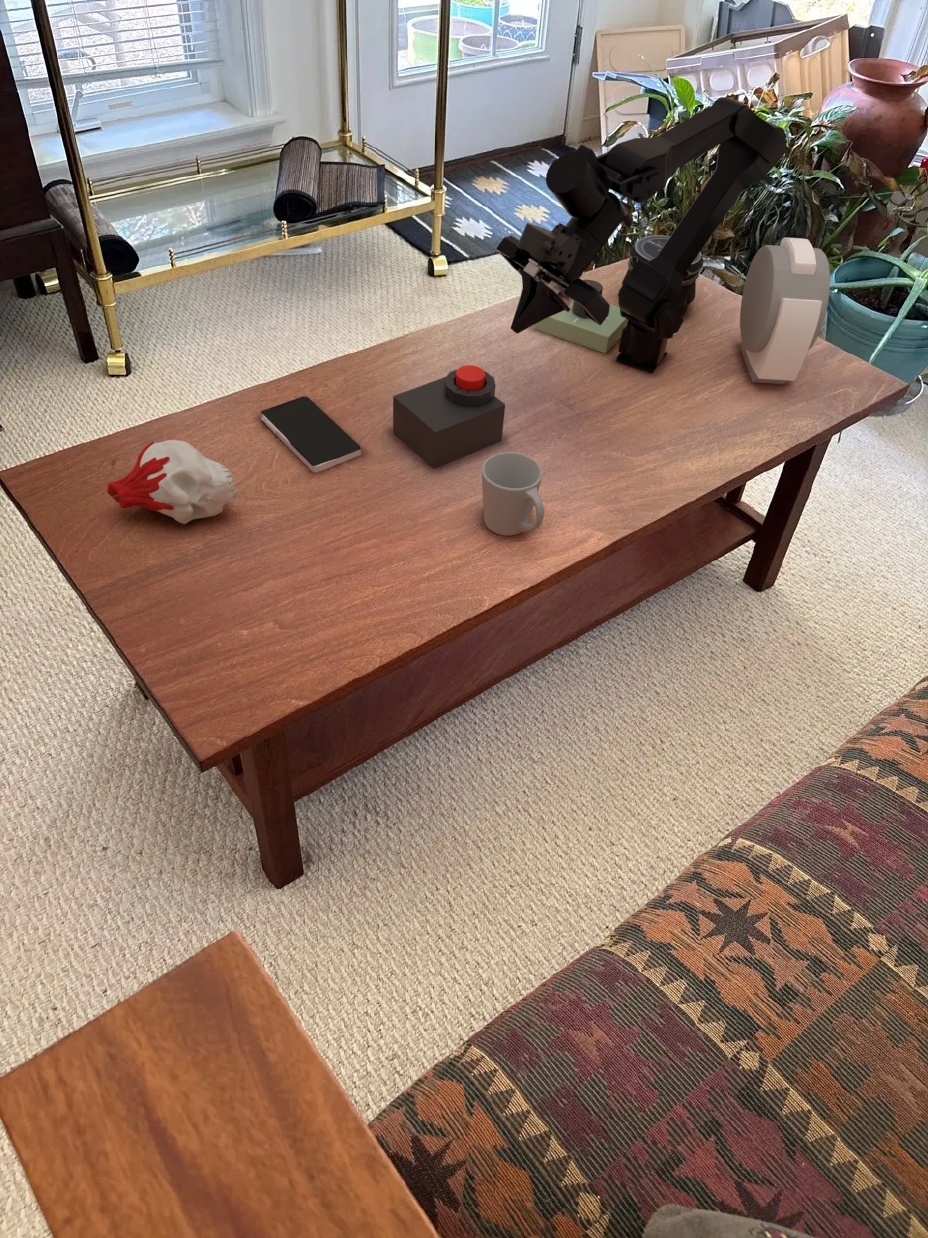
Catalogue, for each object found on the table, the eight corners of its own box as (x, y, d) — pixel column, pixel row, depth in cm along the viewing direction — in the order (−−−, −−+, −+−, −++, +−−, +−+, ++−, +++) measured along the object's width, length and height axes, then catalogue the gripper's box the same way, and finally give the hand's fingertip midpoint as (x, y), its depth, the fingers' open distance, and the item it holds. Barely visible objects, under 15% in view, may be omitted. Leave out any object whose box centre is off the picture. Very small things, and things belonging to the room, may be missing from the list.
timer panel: (629, 327, 160) (633, 310, 157) (605, 353, 154) (608, 336, 151) (561, 304, 164) (563, 287, 161) (534, 328, 158) (536, 311, 155)
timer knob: (602, 310, 157) (607, 282, 154) (591, 321, 154) (596, 293, 151) (579, 302, 158) (583, 274, 155) (567, 313, 156) (571, 285, 152)
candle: (246, 517, 121) (129, 555, 117) (225, 464, 127) (114, 499, 124) (229, 462, 114) (104, 501, 110) (207, 410, 120) (89, 445, 117)
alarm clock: (799, 398, 148) (844, 275, 133) (745, 394, 148) (785, 271, 133) (776, 337, 160) (815, 219, 145) (726, 334, 160) (760, 215, 145)
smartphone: (312, 467, 127) (257, 411, 135) (313, 474, 128) (258, 418, 136) (363, 447, 131) (306, 394, 139) (363, 454, 132) (307, 401, 140)
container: (698, 296, 168) (712, 241, 161) (683, 330, 160) (697, 274, 153) (629, 280, 171) (639, 225, 164) (610, 312, 163) (620, 256, 155)
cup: (510, 496, 127) (516, 444, 121) (558, 538, 122) (568, 486, 116) (465, 516, 124) (469, 464, 118) (513, 560, 119) (520, 508, 113)
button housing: (464, 404, 141) (468, 357, 136) (506, 438, 136) (512, 391, 130) (392, 432, 136) (393, 384, 130) (433, 469, 130) (435, 420, 125)
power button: (472, 372, 134) (473, 361, 132) (490, 386, 132) (491, 375, 130) (449, 381, 132) (450, 370, 131) (467, 395, 130) (467, 384, 128)
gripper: (513, 174, 126) (442, 273, 129) (608, 229, 116) (529, 335, 119) (550, 220, 135) (483, 311, 138) (642, 275, 125) (567, 372, 128)
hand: (513, 331), depth 131 cm, fingers closed
